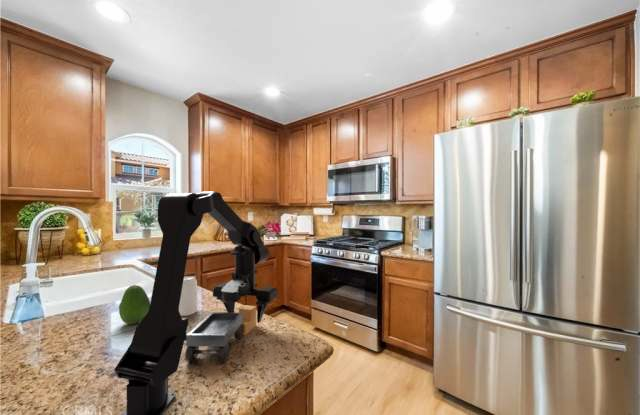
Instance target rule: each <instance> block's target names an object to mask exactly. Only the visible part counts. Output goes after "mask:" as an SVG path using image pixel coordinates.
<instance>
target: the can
mask: <svg viewBox="0 0 640 415" xmlns="http://www.w3.org/2000/svg"><path fill="white" fill-rule="evenodd" d="M196 312H198V280H197V278H196V276H194V275H184V280H183V286H182V292H181V298H180V304H179V313H180V315H181V317H188V316H189V317H190V316H192V315H194V314H195V313H196Z"/></svg>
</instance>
